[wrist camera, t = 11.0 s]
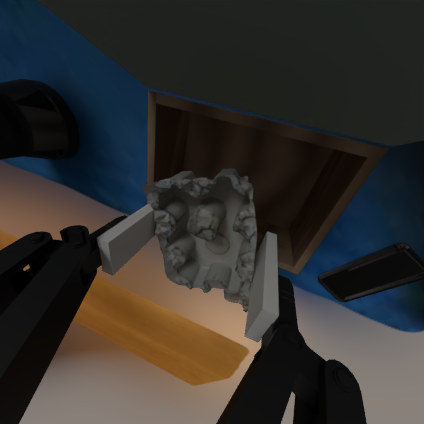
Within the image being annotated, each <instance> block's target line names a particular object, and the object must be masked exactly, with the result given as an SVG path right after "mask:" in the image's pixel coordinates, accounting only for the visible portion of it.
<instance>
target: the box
mask: <svg viewBox="0 0 424 424" xmlns="http://www.w3.org/2000/svg"><path fill="white" fill-rule="evenodd" d="M387 150H388V149H384V148H380V147H376V146H372V145H368V144H364V143H360V142H356V141H352V140H348V139H344V138H340V137H336V136H332V135H328V134H324V133H320V132H316V131H312V130H308V129H303V128H299V127H295V126H291V125H287V124H283V123H279V122H275V121H271V120H267V119H263V118H259V117H255V116H250V115H246V114H242V113H238V112H234V111H230V110H226V109H222V108H218V107H214V106H210V105H206V104H202V103H197V102H193V101H189V100H185V99H181V98H177V97H173V96H169V95H164V94H160V93H156V92H152V91H148V170H147V184H150V183H153V182H157V181H161V180H164V179H169V178H171V177H173V176H175V175H176V174H179V173H180V172H182V171H192V172H193V174H194V176H195V177H196V178H202V177H203V178H207V179H209V180H214V178H215V177H216V176H217V175H218V174H219V173H220V172H221V171H222V169H236V171H237V172H238V174H239V176H240V177H244V176H248V182H249V183H251V184H252V186H253V189H254V190H253V203H254V208H255V217H256V226H257V243H256V250H255V256H256V254H257V252H258V250H259V247H260V245H261V243H262V241H263V239H264V237H265V235H266V233H267V231H268V232H270V233H273V234H276V235H277V261H278V267H279V268H282V269H284V270H287V271H289V272H292V273H295V274H297V275H298V274H299V273H300V271H301V270H302V269H303V267H304V266H305V264H306V263H307V262H308V260H309V259H310V257H311V256H312V255H313V253H314V252H315V250H316V249H317V248H318V246H319V245H320V243H321V242H322V241H323V239H324V238H325V236H326V235H327V234H328V232H329V231H330V229H331V228H332V227H333V225H334V224H335V222H336V221H337V220H338V218H339V217H340V215H341V214H342V213H343V211H344V210H345V208H346V207H347V206H348V204H349V203H350V201H351V200H352V199H353V197H354V196H355V194H356V193H357V192H358V190H359V189H360V187H361V186H362V185H363V183H364V182H365V180H366V179H367V178H368V176H369V175H370V173H371V172H372V171H373V169H374V168H375V166H376V165H377V164H378V162H379V161H380V159H381V158H382V157H383V155H384V154H385V152H386V151H387ZM147 204H149V201H148V199H147Z"/></svg>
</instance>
